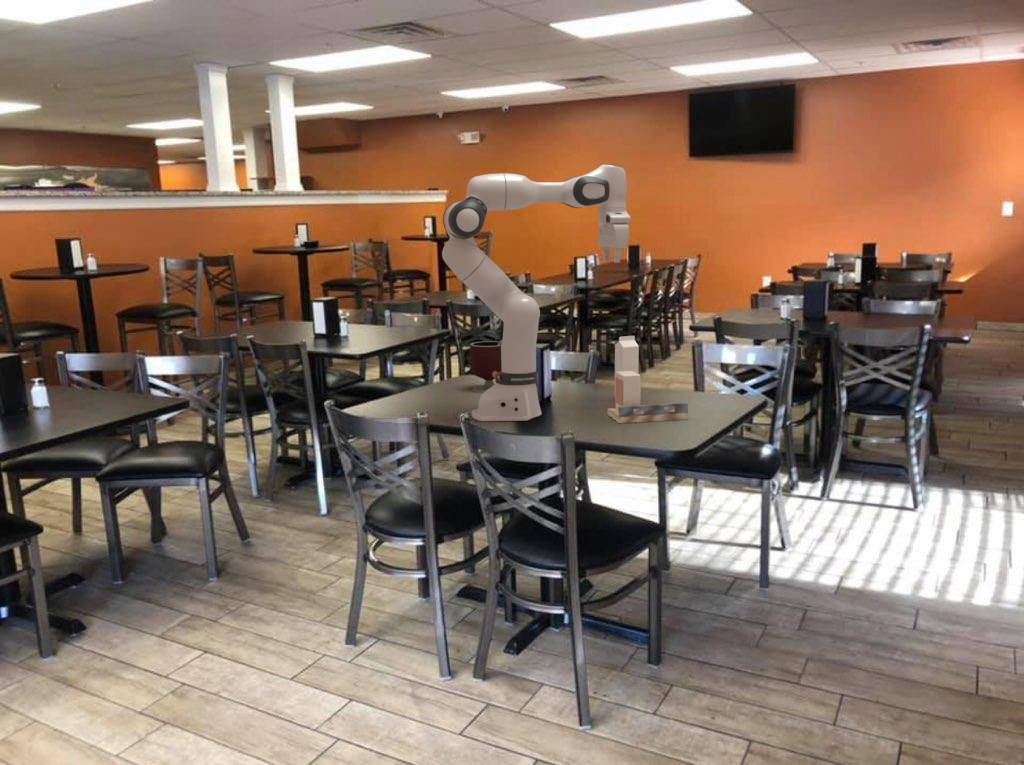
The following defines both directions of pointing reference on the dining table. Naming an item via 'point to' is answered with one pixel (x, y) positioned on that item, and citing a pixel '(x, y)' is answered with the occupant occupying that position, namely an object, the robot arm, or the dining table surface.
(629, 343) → the milk
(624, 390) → the product box
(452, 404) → the dining table surface
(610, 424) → the dining table surface
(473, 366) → the mate gourd
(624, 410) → the display board
